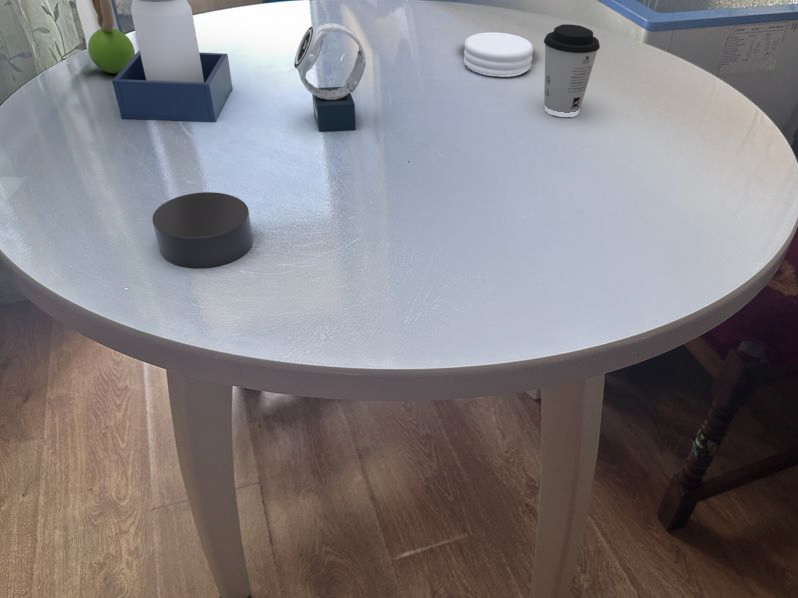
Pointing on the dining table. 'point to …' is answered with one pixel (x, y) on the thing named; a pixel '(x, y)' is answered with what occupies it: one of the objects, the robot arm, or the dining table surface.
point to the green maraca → (109, 41)
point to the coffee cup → (568, 66)
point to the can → (167, 40)
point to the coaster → (497, 53)
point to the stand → (203, 229)
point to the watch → (329, 102)
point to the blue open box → (174, 92)
